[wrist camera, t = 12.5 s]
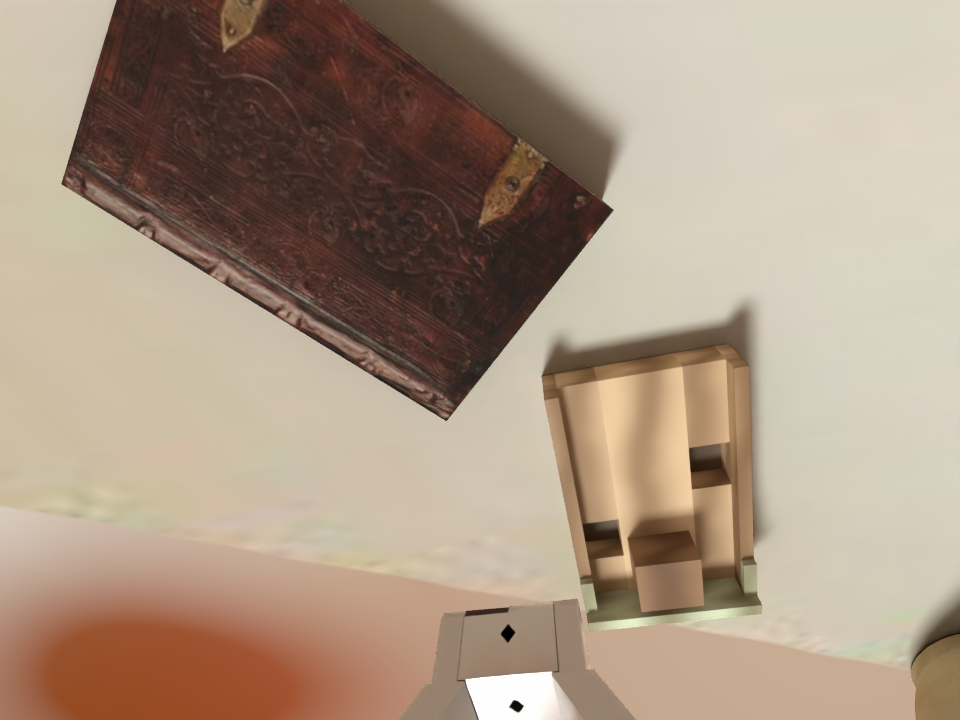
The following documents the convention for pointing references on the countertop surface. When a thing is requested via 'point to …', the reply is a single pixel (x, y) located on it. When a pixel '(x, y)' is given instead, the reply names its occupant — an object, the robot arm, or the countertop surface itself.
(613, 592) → the box
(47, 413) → the countertop surface
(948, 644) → the planter bowl
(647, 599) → the block
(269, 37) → the hardback book
